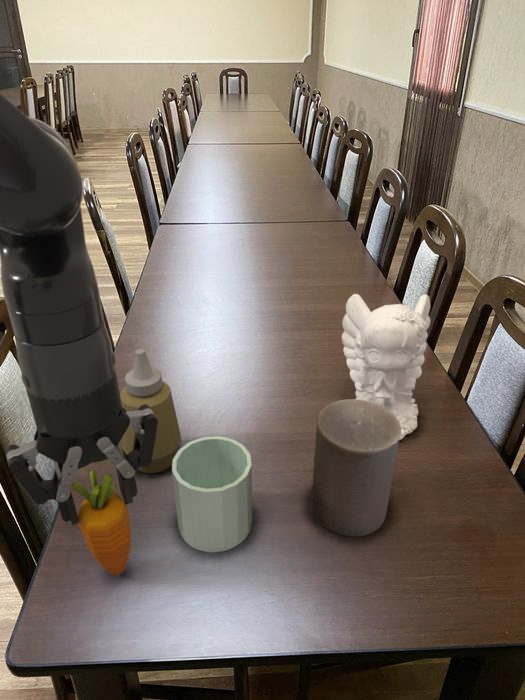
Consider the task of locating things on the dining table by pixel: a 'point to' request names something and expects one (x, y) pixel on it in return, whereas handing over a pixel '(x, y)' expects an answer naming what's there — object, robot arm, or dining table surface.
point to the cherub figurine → (387, 354)
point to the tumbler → (213, 493)
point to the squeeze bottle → (154, 392)
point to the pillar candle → (354, 466)
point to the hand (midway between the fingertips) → (100, 507)
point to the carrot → (105, 524)
